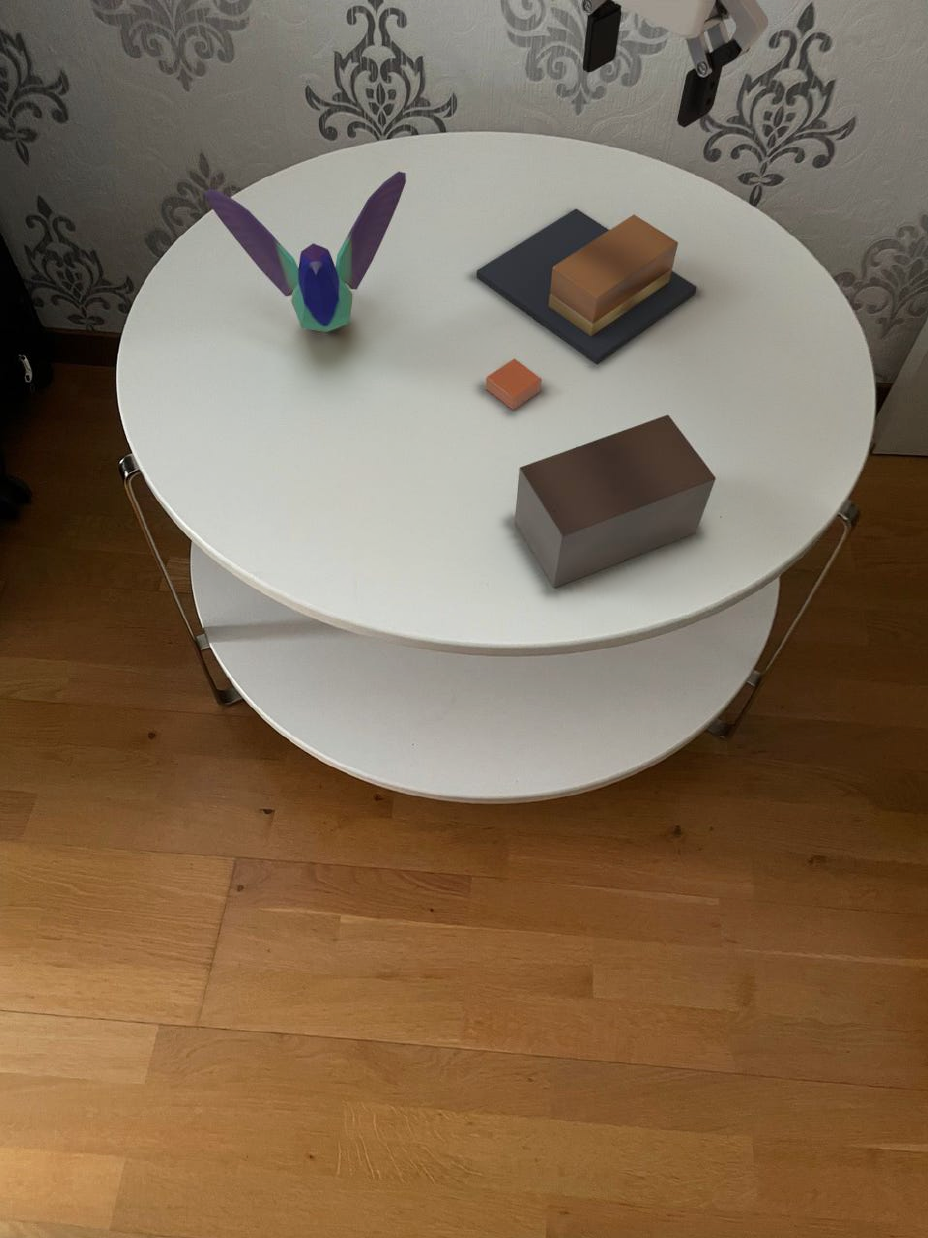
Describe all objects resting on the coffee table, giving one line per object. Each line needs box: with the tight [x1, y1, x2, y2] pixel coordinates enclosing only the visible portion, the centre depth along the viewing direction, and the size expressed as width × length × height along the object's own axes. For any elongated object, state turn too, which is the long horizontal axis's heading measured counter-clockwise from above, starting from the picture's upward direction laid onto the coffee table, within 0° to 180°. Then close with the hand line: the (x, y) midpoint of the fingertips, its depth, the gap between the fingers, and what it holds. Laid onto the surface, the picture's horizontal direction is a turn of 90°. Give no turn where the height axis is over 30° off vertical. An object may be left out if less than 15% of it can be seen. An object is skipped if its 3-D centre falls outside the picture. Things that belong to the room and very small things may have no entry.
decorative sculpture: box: [204, 171, 407, 333], centre depth 81 cm, size 17×18×15 cm
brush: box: [549, 214, 679, 336], centre depth 88 cm, size 11×6×4 cm, turn 133°
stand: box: [514, 414, 717, 589], centre depth 74 cm, size 13×7×7 cm, turn 115°
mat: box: [476, 208, 698, 365], centre depth 91 cm, size 16×14×1 cm
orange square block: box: [485, 358, 543, 411], centre depth 84 cm, size 4×4×2 cm
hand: (644, 91), depth 73 cm, fingers open, 9 cm apart
